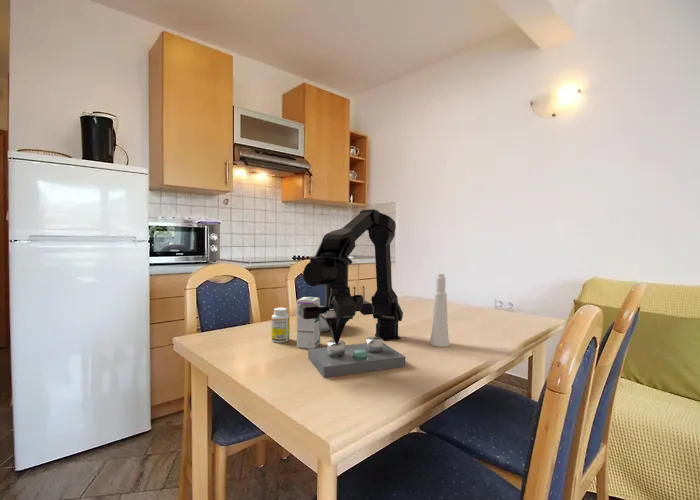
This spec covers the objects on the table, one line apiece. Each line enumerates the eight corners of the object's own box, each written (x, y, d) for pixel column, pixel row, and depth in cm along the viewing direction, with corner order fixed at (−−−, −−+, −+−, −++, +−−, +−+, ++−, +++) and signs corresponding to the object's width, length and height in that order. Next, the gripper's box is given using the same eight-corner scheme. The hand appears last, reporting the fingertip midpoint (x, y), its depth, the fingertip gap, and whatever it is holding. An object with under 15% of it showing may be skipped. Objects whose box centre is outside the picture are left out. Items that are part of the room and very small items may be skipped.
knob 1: (341, 359, 94) (341, 339, 94) (347, 365, 90) (347, 344, 89) (324, 361, 92) (324, 340, 92) (330, 367, 88) (330, 345, 88)
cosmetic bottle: (453, 345, 109) (455, 274, 108) (439, 348, 106) (441, 275, 105) (439, 340, 114) (441, 272, 113) (425, 343, 111) (426, 273, 110)
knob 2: (378, 355, 98) (378, 336, 98) (385, 361, 94) (386, 340, 94) (363, 357, 96) (363, 337, 96) (370, 363, 92) (370, 342, 92)
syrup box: (314, 349, 103) (315, 300, 103) (295, 347, 105) (296, 299, 104) (320, 343, 109) (320, 297, 108) (302, 342, 110) (302, 296, 110)
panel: (380, 349, 104) (380, 341, 103) (405, 366, 91) (405, 356, 90) (308, 358, 95) (308, 349, 95) (323, 377, 82) (323, 367, 82)
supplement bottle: (281, 337, 115) (282, 306, 115) (292, 340, 112) (293, 308, 112) (267, 340, 111) (268, 308, 111) (278, 344, 108) (279, 311, 107)
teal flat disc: (363, 353, 92) (363, 349, 92) (369, 357, 89) (369, 353, 89) (350, 355, 91) (351, 350, 91) (356, 359, 88) (356, 354, 88)
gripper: (309, 287, 79) (309, 356, 80) (383, 284, 86) (382, 347, 87) (298, 282, 90) (297, 342, 90) (365, 279, 97) (364, 336, 97)
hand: (336, 342), depth 91 cm, fingers closed, pressing on knob 1
